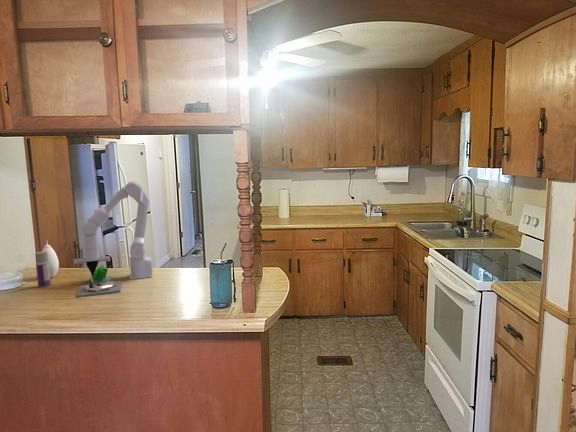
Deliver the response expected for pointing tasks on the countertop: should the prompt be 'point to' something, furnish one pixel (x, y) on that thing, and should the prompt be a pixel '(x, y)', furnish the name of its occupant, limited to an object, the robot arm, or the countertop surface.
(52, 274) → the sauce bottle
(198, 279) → the countertop surface
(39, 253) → the container
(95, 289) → the sprocket
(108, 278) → the mat
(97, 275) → the pipe clamp
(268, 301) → the countertop surface
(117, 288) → the mount plate
